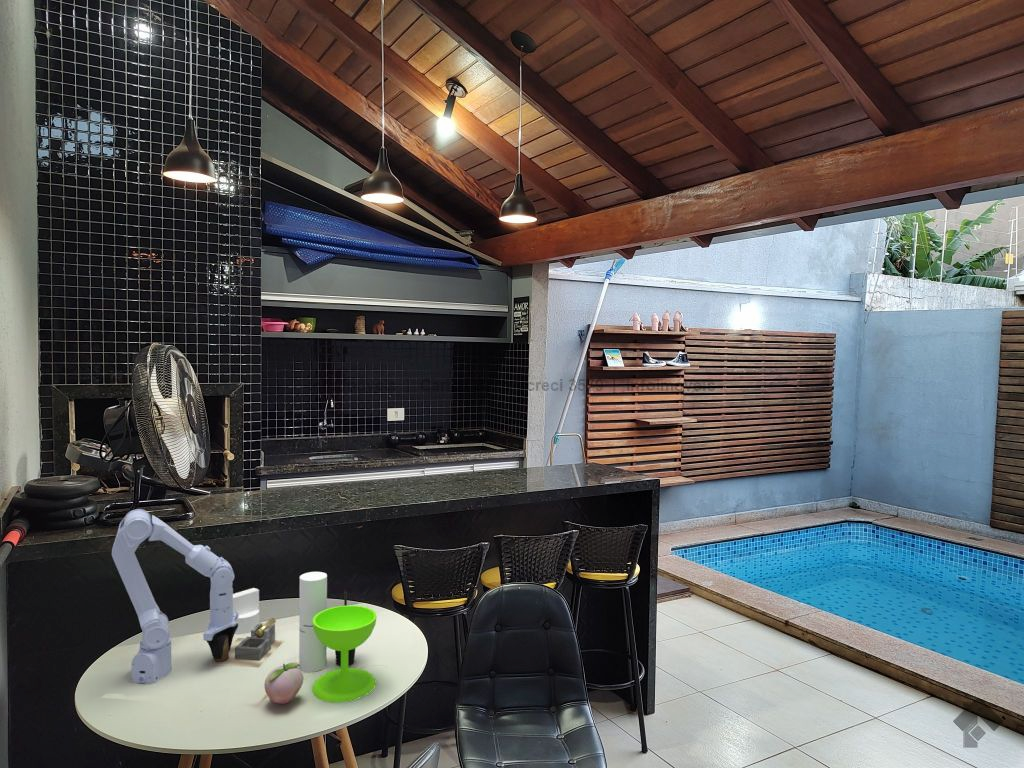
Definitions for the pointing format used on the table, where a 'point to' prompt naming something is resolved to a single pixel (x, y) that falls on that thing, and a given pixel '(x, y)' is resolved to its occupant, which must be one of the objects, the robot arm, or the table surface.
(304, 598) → the cylindrical container
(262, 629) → the pin
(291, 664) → the decorative fruit
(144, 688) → the table surface
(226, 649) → the peg
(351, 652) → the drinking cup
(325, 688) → the wineglass
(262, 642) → the dock
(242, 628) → the base with upright slab
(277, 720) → the table surface
